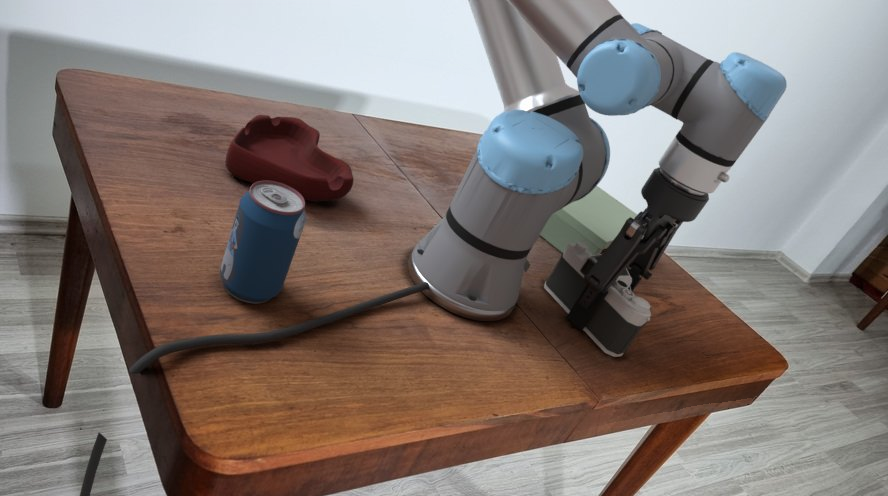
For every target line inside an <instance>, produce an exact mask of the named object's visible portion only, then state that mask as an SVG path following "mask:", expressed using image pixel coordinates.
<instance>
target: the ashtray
mask: <svg viewBox="0 0 888 496" xmlns="http://www.w3.org/2000/svg"><path fill="white" fill-rule="evenodd" d="M320 135H321V133H320V130H318V129H316V128H315V127H313V126H311V125H309V124H307V122H305V121H304V120H303V119H301V118H298V117H293V116H275V117H271V116H270V115H269V114H268V115H266V114H259V115H258V114H257V115H255V116H254V117H253V118H251V119H250V120H249V121H248V122H247V123H246V124H245V126H244V127H241V129H240V130H239V131H238V132H237V133H236V134H235V135H234V137H233V139H232V140H231V141H230V144H229V145H228V148H227V152H226V154H225V162H224V163H225V168H226V169H227V171H228V172H229V173H230V174H231V175H232V176H233V178H235V179H237V180H240V181H243V182H249V183H252V184H254V183H255V182H258V181H275V182H279V183H282V184H285V185H287V186H289V187H291V188H293V189H295V190H296V191H297V192H299V193H300V194H301V195H302V197H303V198H304V200H305V201H310V202H315V203H318V204H319V205H323V206H331V205H332V204H333V202H335V201H337V200H340V199H342V198H344V197H345V196H347V195H348V194H349V193H350V191H351V190H352V187H353V185H354V180H355V179H354V176H353V175H354V174H353V171H352V168H351V166H350V164H349V163H347V162H346V161H344V160H342V159H339V158H337V157H335V156H333V155H331V154H329V153H327V152H325V151H324V150H323V149H321V148H320V147H319V142H320Z"/></svg>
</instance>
